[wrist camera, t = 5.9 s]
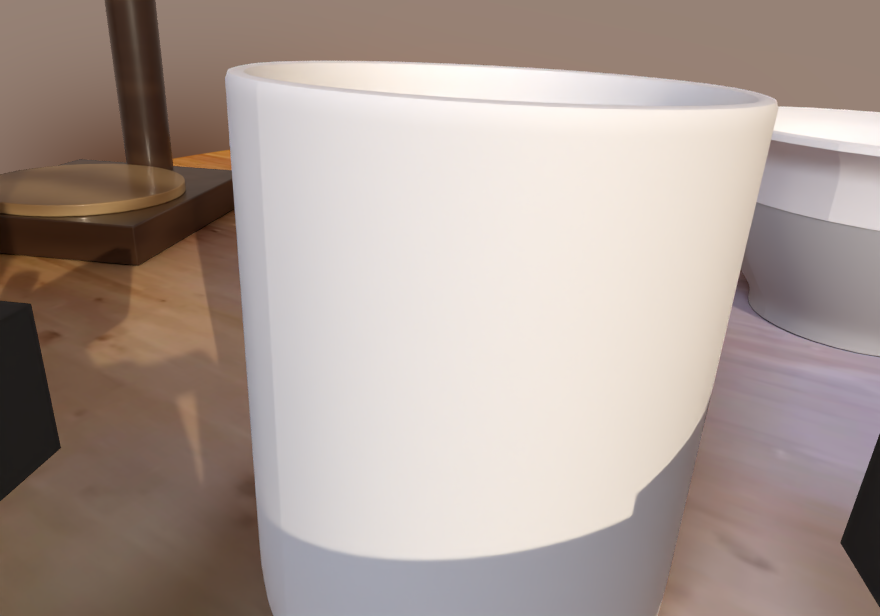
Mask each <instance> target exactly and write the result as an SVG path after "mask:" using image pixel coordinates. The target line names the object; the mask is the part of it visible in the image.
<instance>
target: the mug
mask: <svg viewBox="0 0 880 616" xmlns="http://www.w3.org/2000/svg"><path fill="white" fill-rule="evenodd" d="M225 85H226V98H227V111H228V125H229V138H230V152H231V166H232V179H233V193H234V206H235V220H236V233H237V247H238V260H239V274H240V287H241V301H242V314H243V328H244V341H245V355H246V369H247V382H248V396H249V409H250V423H251V436H252V450H253V463H254V477H255V490H256V504H257V517H258V531H259V544H260V555H261V565H262V571H263V577H264V583H265V588H266V593H267V597H268V602H269V605H270V608H271V611H272V614H273V616H657V615H658V612H659V609H660V606H661V603H662V599H663V595H664V592H665V588H666V584H667V580H668V576H669V572H670V567H671V563H672V559H673V555H674V550H675V546H676V542H677V538H678V533H679V529H680V525H681V521H682V516H683V512H684V508H685V504H686V499H687V495H688V491H689V487H690V482H691V478H692V474H693V470H694V465H695V461H696V457H697V453H698V448H699V444H700V440H701V436H702V431H703V427H704V423H705V419H706V414H707V410H708V406H709V402H710V397H711V393H712V389H713V385H714V380H715V376H716V372H717V368H718V363H719V359H720V355H721V351H722V346H723V342H724V338H725V334H726V329H727V325H728V321H729V317H730V312H731V308H732V304H733V300H734V295H735V291H736V287H737V283H738V278H739V274H740V270H741V265H742V261H743V257H744V253H745V248H746V244H747V240H748V236H749V231H750V227H751V223H752V219H753V214H754V210H755V206H756V202H757V197H758V193H759V189H760V185H761V180H762V176H763V172H764V168H765V163H766V159H767V155H768V151H769V146H770V142H771V138H772V134H773V129H774V125H775V121H776V117H777V112H778V104H777V101H776V99H774V98H772V97H769V96H767V95H763V94H761V93H757V92H753V91H749V90H743V89H739V88H733V87H727V86H720V85H713V84H705V83H698V82H689V81H681V80H672V79H662V78H653V77H642V76H632V75H620V74H609V73H596V72H583V71H570V70H556V69H555V70H554V69H541V68H524V67H507V66H489V65H469V64H445V63H420V62H386V61H286V62H285V61H284V62H264V63H253V64H247V65H241V66H237V67H233V68H230V69H228V71H227V74H226V77H225Z"/></svg>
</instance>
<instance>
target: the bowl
mask: <svg viewBox="0 0 880 616" xmlns="http://www.w3.org/2000/svg"><path fill="white" fill-rule="evenodd" d="M741 270H742V272H743V274H744V276H745V278H746V280H747V281H748V283H749V288H750V290H749V295H748V300H749V304H750V305H751V307H752V308H753V309H754V311H756V312H757V313H758V314H759V315H760V316H762V317H763V318H764V319H766V320H768V321H769V322H771V323H773V324H775V325H776V326H778V327H780V328H783V329H785V330H787V331H789V332H791V333H794V334H796V335H799V336H802V337H804V338H807V339H810V340H812V341H816V342H819V343H822V344H826V345H829V346H832V347H836V348H840V349H844V350H849V351H853V352H857V353H863V354H868V355H874V356H880V112H868V111H854V110H841V109H823V108H805V107H778V112H777V117H776V121H775V125H774V129H773V134H772V138H771V142H770V146H769V151H768V155H767V159H766V163H765V168H764V172H763V176H762V180H761V185H760V189H759V193H758V197H757V202H756V206H755V210H754V214H753V219H752V223H751V227H750V231H749V236H748V240H747V244H746V248H745V253H744V257H743V261H742V265H741Z"/></svg>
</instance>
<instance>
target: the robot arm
mask: <svg viewBox="0 0 880 616" xmlns="http://www.w3.org/2000/svg"><path fill="white" fill-rule="evenodd" d="M60 448H61V446H60V442H59V437H58V432H57V427H56V422H55V417H54V413H53V408H52V403H51V398H50V393H49V388H48V384H47V379H46V374H45V369H44V364H43V359H42V355H41V350H40V345H39V340H38V335H37V330H36V326H35V321H34V316H33V311H32V306H31V304H27V303H17V302H7V301H0V501H1V500H2V499H3V498H4V497H6V496H7V495H8V494H9V493H10V492H11V491H12V490H13V489H15V488H16V487H17V486H18V485H19V484H20V483H21V482H23V481H24V480H25V479H26V478H27V477H28V476H29V475H31V474H32V473H33V472H34V471H35V470H36V469H37V468H38V467H40V466H41V465H42V464H43V463H44V462H45V461H46V460H48V459H49V458H50V457H51V456H52V455H53V454H54V453H56V452H57V451H58V450H59V449H60ZM841 544H842V546H843V548H844V549H845V551H846V553H847V554H848V556H849V558H850V559H851V561H852V563H853V564H854V566H855V568H856V569H857V571H858V572H859V574H860V576H861V577H862V579H863V581H864V582H865V584H866V586H867V587H868V589H869V591H870V592H871V594H872V595H873V597H874V599H875V600H876V602H877V604H878V605H879V607H880V434H879V437H878V440H877V443H876V446H875V448H874V451H873V454H872V457H871V459H870V462H869V465H868V468H867V470H866V473H865V476H864V479H863V482H862V484H861V487H860V490H859V493H858V495H857V498H856V501H855V504H854V507H853V509H852V512H851V515H850V518H849V520H848V523H847V526H846V529H845V531H844V534H843V537H842V540H841Z"/></svg>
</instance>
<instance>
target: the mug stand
mask: <svg viewBox="0 0 880 616" xmlns="http://www.w3.org/2000/svg"><path fill="white" fill-rule="evenodd" d="M105 6H106V13H107V21H108V28H109V36H110V43H111V50H112V58H113V65H114V72H115V80H116V87H117V95H118V103H119V110H120V118H121V125H122V132H123V140H124V147H125V154H126V162H127V163H123V162H111V161H97V160H83V159H79V160H76V161H72V162H68V163H65V164H61V165H58V166H50V167H40V168H32V169H26V170H19V171H14V172H9V173H4V174H0V253H6V254H17V255H28V256H39V257H51V258H62V259H73V260H84V261H95V262H106V263H118V264H129V265H140V264H141V263H143V262H145V261H147V260H148V259H150V258H152V257H153V256H155V255H157V254H158V253H160V252H162V251H163V250H165V249H167V248H168V247H170V246H172V245H174V244H175V243H177V242H179V241H180V240H182V239H184V238H185V237H187V236H189V235H190V234H192V233H194V232H196V231H197V230H199V229H201V228H202V227H204V226H206V225H207V224H209V223H211V222H212V221H214V220H216V219H217V218H219V217H221V216H223V215H224V214H226V213H228V212H229V211H231V210H233V209H234V208H235V206H234V193H233V179H232V170H218V169H205V168H191V167H178V166H173V160H172V151H171V142H170V134H169V133H170V132H169V123H168V114H167V106H166V96H165V86H164V77H163V68H162V58H161V49H160V40H159V31H158V22H157V12H156V2H155V0H105Z"/></svg>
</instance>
